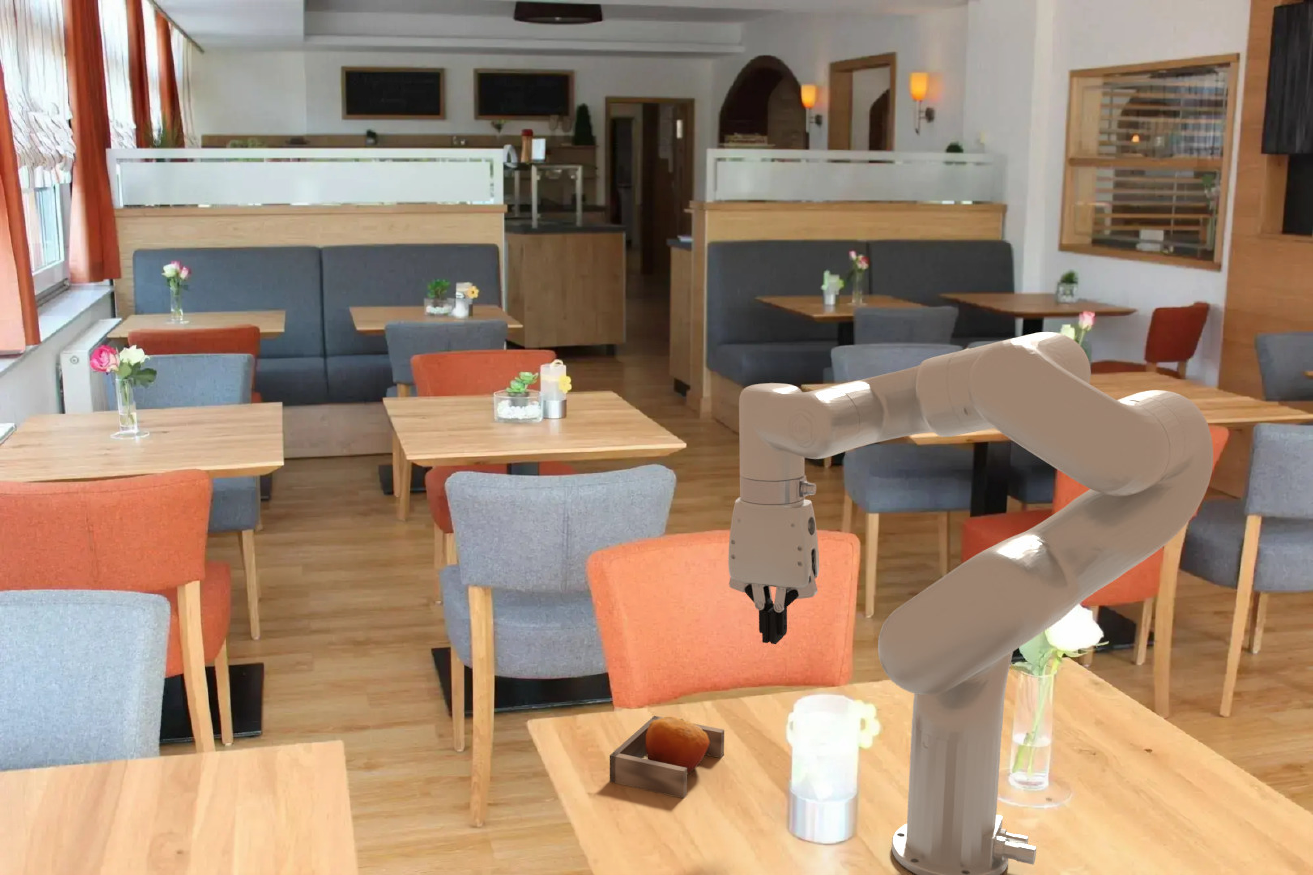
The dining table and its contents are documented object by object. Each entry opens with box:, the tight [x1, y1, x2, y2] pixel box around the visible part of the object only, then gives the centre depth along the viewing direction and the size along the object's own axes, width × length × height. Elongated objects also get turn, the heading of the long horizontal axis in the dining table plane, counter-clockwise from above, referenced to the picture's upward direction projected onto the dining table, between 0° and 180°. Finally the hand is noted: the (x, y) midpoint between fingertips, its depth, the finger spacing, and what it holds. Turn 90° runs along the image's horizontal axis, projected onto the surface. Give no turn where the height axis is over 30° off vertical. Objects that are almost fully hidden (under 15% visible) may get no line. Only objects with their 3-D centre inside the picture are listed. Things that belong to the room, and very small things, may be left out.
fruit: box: [646, 716, 710, 774], centre depth 162 cm, size 8×8×8 cm
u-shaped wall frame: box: [609, 715, 725, 799], centre depth 163 cm, size 10×13×4 cm
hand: (773, 639), depth 153 cm, fingers closed
